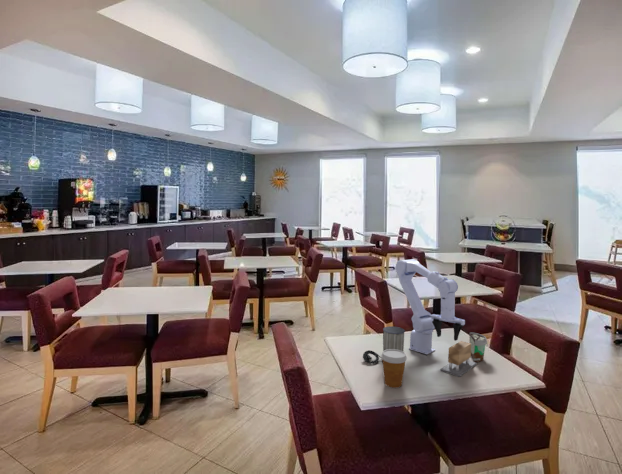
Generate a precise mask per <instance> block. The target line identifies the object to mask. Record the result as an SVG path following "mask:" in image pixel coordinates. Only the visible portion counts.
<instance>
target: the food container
mask: <svg viewBox="0 0 622 474" xmlns="http://www.w3.org/2000/svg"><path fill="white" fill-rule="evenodd" d="M468 336H469V341H468V343H471V357H470V358H471V361H472V362H476V363H481V362H483V361H484V358H485V351H486V350H485V349H486V345H487V344H488V340H487V337H486V336H485V335H483V334H480V333H477V332H472V331H471V332H469V335H468Z"/></svg>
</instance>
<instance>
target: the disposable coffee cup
mask: <svg viewBox="0 0 622 474" xmlns="http://www.w3.org/2000/svg"><path fill="white" fill-rule="evenodd" d="M380 357H382V358H381V359H382V360H383V363H382V366H383V367H382V368H383V369H382V371H383V377H384V384H385V385H386V386H387V387H388V388H391V389H392V388H395V389H396V388H401V387H402V385H403V378H404V372H405V368H406V367H405V366H406V362H407V359H408V357H407V353H406V352H405V351H400V350H396V349H387V350H384V351H383V350H382V353H381V355H380Z"/></svg>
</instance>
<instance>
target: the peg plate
mask: <svg viewBox="0 0 622 474" xmlns="http://www.w3.org/2000/svg"><path fill="white" fill-rule="evenodd" d="M477 363H478V362H473V360H470V358H469V359H467V360H466V361H464V362H463V363H461V364H460V365H456V364H453V363H449V362H448V363H447V364H445V366H443V367H441V368H440V371H441V372H443V373H446V374H451V375H453V376H456V377H458V378H459V377H461V376H463V375H464V374H466V373H467V372H468V371H469V370H471V369H472V368H474V367H475V366H476V365H477Z"/></svg>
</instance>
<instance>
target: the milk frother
mask: <svg viewBox="0 0 622 474" xmlns="http://www.w3.org/2000/svg"><path fill="white" fill-rule="evenodd" d="M382 330H383V333H382V344H383V346H382V347H383V350H382V352H383V351H384V350H387V349H396V350H400V351H403V352H405V351H404V349H405V347H404V346H405V332H406V330H405V329H404V328H402V327H398V326H389V325H388V326H385V327H383V328H382ZM370 355H373V356H374V357H375V359H374V360H372V359H373V358H372V357H371V356H370ZM362 359H363V361H365V362H366V363H368V364H373V365H374V364H377V363H378V362H379V361H380V359H382V357H381V355H379V354H378V353H377V352H375V351H374V350H366V351H364V352H363V354H362ZM381 363H382V364H383V360H382V361H381Z"/></svg>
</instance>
